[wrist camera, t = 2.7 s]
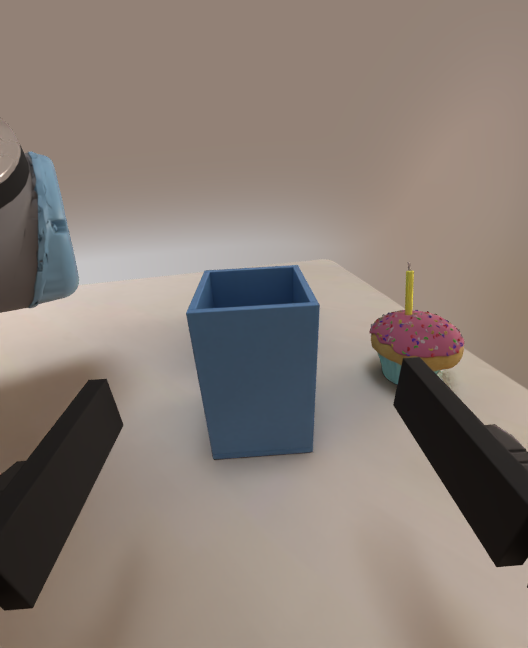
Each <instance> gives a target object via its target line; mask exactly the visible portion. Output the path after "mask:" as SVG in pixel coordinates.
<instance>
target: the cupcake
mask: <svg viewBox="0 0 528 648" xmlns="http://www.w3.org/2000/svg"><path fill="white" fill-rule="evenodd" d="M408 270H409V271H406V297H405V310H401V311H397V312H396V311H395V312H391V313H388V314H386V315H384V314H383V315H382V317H381V318H378V319H377V320H376V321H375V322H374V324H371V329H370V333H371V343H372V347H373V348H374V349H375V350H376V351H377V352H378V355H379V358H380V361H381V365H382V371H383V374H384V375H385V377H386V378H387V379H388V380H390V381H391V382H393V383H394V384H398V380H399V375H400V370H401V365H402V360H403V358H412V357H420V358H421V359H422V360H423V361H424V362H425V363H426V364H427V365H428V366H429V367H430V368H431V369H432V370H433V371H434V372H435V374H437V373H438V372H439V371H440V370H441V369H449V368H452V367H454V366H455V365H457V364H458V362H459V361H460V359H461V358H462V355H463V351H464V339H463V337H462V334H460V331H459V330H458V329H457V328H455V326H453V325H452V324H451V323H449V321H447V320H445V319H443V318H441V317H440V316H438V315H437V314H431V313H429V312H428V311H427V312H421V311H418V310H415V311H412V307H413V306H412V305H413V280H414V279H413V278H414V271H411V267H410V263H409V262H408Z"/></svg>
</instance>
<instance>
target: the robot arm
mask: <svg viewBox="0 0 528 648" xmlns="http://www.w3.org/2000/svg"><path fill="white" fill-rule="evenodd" d="M78 284H79V277H78V271H77V266H76V261H75V256H74V252H73V247H72V243H71V238H70V234H69V230H68V226H67V220H66V217H65V212H64V206H63V202H62V197H61V193H60V189H59V185H58V181H57V176H56V172H55V169H54V165H53V162H52V161H51V159H49V158H48V157H47V156H44V155H39V154H36V153H33V152H28V153H25V154H24V152H23V150H22V148H21V146H20V143H19V141H18V139H17V137H16V135H15V134H14V132H13V130H12V129H11V128H10V126H9V125H8V124H7V123H6V122H5V121H4V120H3V119H1V118H0V313H1V312H7V311H12V310H18V309H23V308H33V307H36V306H37V305H38V304H41V303H45V302H49V301H53V300H57V299H61V298H65V297H68V296H70V295H71V294H73V293H74V292H75V290H76V289H77V287H78ZM393 405H394V407H395V408H396V410H397V412H398V413H399V415H400V416H401V418H402V419H403V421H404V423H405V424H406V426H407V427H408V429H409V430H410V432H411V434H412V435H413V437H414V438H415V440H416V441H417V443H418V445H419V446H420V448H421V449H422V451H423V452H424V454H425V456H426V457H427V459H428V460H429V462H430V463H431V465H432V467H433V468H434V470H435V471H436V473H437V474H438V476H439V478H440V479H441V481H442V482H443V484H444V485H445V487H446V489H447V490H448V492H449V493H450V495H451V496H452V498H453V500H454V501H455V503H456V504H457V506H458V507H459V509H460V511H461V512H462V514H463V515H464V517H465V518H466V520H467V522H468V523H469V525H470V526H471V528H472V529H473V531H474V533H475V534H476V536H477V537H478V539H479V540H480V542H481V544H482V545H483V547H484V548H485V550H486V551H487V553H488V555H489V556H490V558H491V559H492V561H493V562H494V564H495V566H496V567H504V566H516V565H523V563H524V562H525V561H526V559H527V558H528V452H527V451H526V449H525V448H524V447H523V446H522V445H521V444H520V443H519V442H518V441H517V440H516V439H515V438H514V437H513V436H512V435H511V434H509V433H508V432H506V431H504V430H503V429H501V428H500V427H498V426H497V425H495V424H494V425H484V424H483V423H482V422H481V421H480V420H479V419H478V418H477V417H476V416H475V415H474V414H473V412H472V411H471V410H470V409H469V408H468V407H467V406H466V405H465V404H464V403H463V402H462V401H461V400H460V399H459V398H458V397H457V396H456V395H455V394H454V392H453V391H452V390H451V389H450V388H449V387H448V386H447V385H446V384H445V383H444V382H443V381H442V380H441V379H440V378H439V377H438V376H437V375H436V374H435V372H434V371H433V370H432V369H431V368H430V367H429V366H428V365H427V364H426V363H425V362H424V361H423V360H422V359H421V358H420V357H412V358H403V360H402V365H401V370H400V375H399V380H398V384H397V389H396V394H395V399H394V404H393ZM122 427H123V422H122V420H121V417H120V414H119V411H118V409H117V406H116V403H115V401H114V398H113V395H112V392H111V390H110V387H109V384H108V382H107V379H97V380H88V382H87V383H86V384H85V386H84V387H83V388H82V389H81V391H80V392H79V393H78V395H77V396H76V397H75V398H74V400H73V401H72V402H71V404H70V405H69V406H68V408H67V409H66V410H65V411H64V413H63V414H62V415H61V417H60V418H59V419H58V420H57V422H56V423H55V424H54V426H53V427H52V428H51V430H50V431H49V432H48V433H47V435H46V436H45V437H44V439H43V440H42V441H41V442H40V444H39V445H38V446H37V448H36V449H35V450H34V451H33V453H32V454H31V455H30V457H29V458H28V459H27V461H19V462H16V463H15V464H14V465H12V466H11V467H10V468H9V469H7V470H6V471H5V472H4V473H3V474H1V475H0V607H1V608H2V609H3V610H4V611H5V610H16V609H28V608H33V606H34V604H35V602H36V600H37V598H38V596H39V594H40V592H41V590H42V588H43V586H44V584H45V582H46V580H47V578H48V576H49V574H50V572H51V570H52V568H53V566H54V564H55V562H56V560H57V558H58V556H59V554H60V552H61V550H62V548H63V546H64V544H65V542H66V540H67V538H68V536H69V534H70V532H71V530H72V528H73V526H74V524H75V522H76V520H77V518H78V516H79V514H80V512H81V510H82V508H83V506H84V504H85V502H86V500H87V497H88V495H89V493H90V491H91V489H92V487H93V485H94V483H95V481H96V479H97V477H98V475H99V473H100V471H101V469H102V467H103V465H104V463H105V461H106V459H107V457H108V455H109V453H110V451H111V449H112V447H113V445H114V443H115V441H116V439H117V437H118V435H119V433H120V431H121V429H122ZM527 588H528V585H527Z"/></svg>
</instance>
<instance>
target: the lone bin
mask: <svg viewBox="0 0 528 648" xmlns="http://www.w3.org/2000/svg"><path fill="white" fill-rule="evenodd" d="M319 308H320V305H319V303H318V301H317V299H316V298H315V296H314V294H313V292H312V290H311V288H310V287H309V285H308V283H307V281H306V279H305V278H304V276H303V274H302V272H301V270H300V268H299V266H298V265H292V266H275V267H258V268H240V269H223V270H206V271H204V274H203V276H202V278H201V280H200V283H199V285H198V287H197V290H196V292H195V294H194V296H193V299H192V301H191V303H190V306H189V308H188V310H187V313H186V315H187V321H188V326H189V331H190V337H191V342H192V347H193V353H194V358H195V363H196V369H197V374H198V379H199V385H200V390H201V396H202V401H203V406H204V412H205V417H206V422H207V428H208V433H209V438H210V444H211V449H212V454H213V459H226V458H240V457H253V456H267V455H280V454H294V453H307V452H313V432H314V412H315V391H316V370H317V350H318V329H319Z"/></svg>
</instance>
